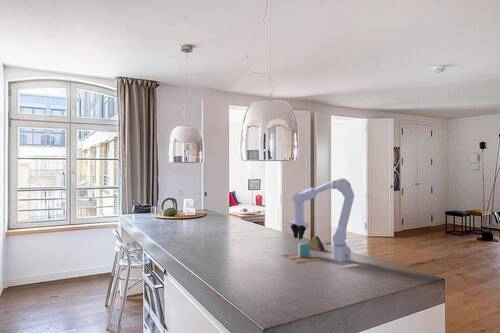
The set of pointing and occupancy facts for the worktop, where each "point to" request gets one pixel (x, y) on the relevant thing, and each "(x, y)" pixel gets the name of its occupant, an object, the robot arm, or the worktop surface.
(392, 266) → the worktop surface
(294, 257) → the board
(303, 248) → the tile
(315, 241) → the rock
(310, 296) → the worktop surface
